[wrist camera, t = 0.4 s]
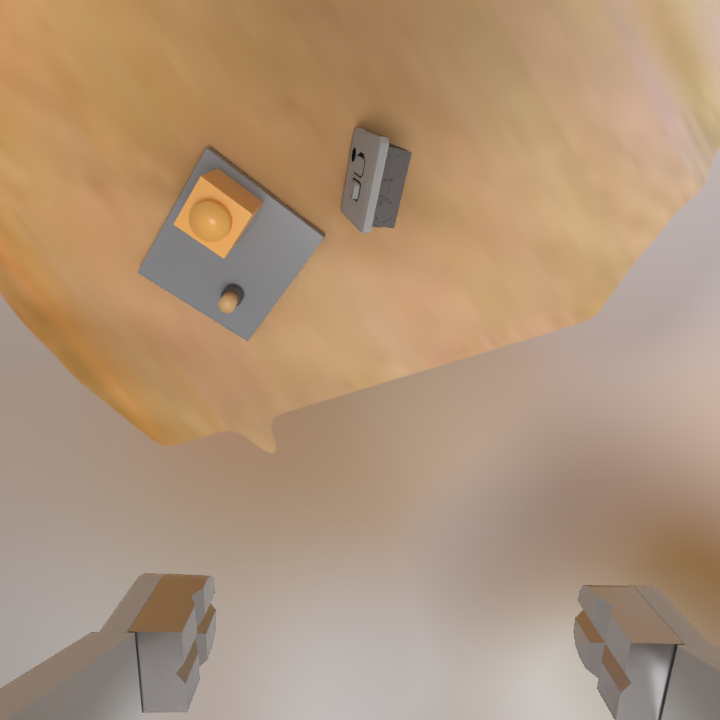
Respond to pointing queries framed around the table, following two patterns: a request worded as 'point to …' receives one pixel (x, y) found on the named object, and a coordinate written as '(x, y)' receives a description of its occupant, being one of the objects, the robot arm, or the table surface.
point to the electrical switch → (374, 181)
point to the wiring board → (233, 257)
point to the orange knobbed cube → (218, 212)
